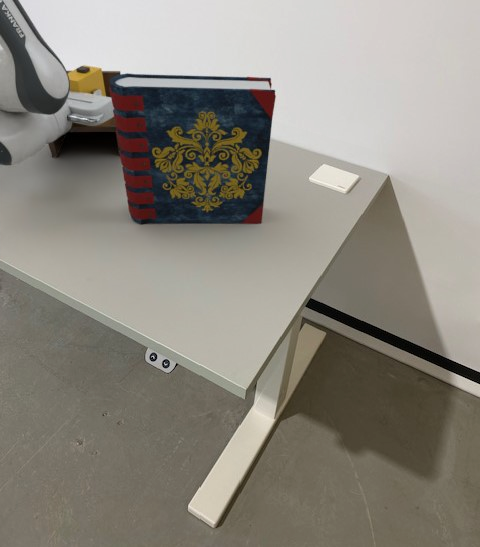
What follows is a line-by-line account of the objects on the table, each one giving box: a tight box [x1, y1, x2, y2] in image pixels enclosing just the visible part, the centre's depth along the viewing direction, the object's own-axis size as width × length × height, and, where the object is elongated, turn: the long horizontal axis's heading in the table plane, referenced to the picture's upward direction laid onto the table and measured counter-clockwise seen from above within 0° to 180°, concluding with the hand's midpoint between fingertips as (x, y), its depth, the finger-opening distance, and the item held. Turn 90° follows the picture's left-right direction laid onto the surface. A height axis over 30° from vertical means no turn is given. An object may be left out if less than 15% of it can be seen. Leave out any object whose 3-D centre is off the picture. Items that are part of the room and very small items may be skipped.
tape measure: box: [68, 64, 106, 96], centre depth 92 cm, size 9×4×10 cm, turn 162°
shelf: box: [47, 70, 122, 158], centre depth 95 cm, size 16×14×14 cm
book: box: [109, 72, 277, 225], centre depth 73 cm, size 25×7×25 cm, turn 94°
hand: (86, 90), depth 92 cm, fingers closed on tape measure, 4 cm apart
